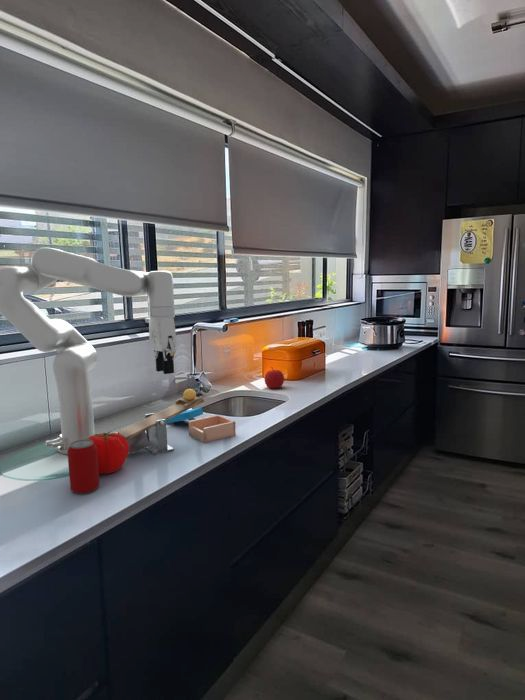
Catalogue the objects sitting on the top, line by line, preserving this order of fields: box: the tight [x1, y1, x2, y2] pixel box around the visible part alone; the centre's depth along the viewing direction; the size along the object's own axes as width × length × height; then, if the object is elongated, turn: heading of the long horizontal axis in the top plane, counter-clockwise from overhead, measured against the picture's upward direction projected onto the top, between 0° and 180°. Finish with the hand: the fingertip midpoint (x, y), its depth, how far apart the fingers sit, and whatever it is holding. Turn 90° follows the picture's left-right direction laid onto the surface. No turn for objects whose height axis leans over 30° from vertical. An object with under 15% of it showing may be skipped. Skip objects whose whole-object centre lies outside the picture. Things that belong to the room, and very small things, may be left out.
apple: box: [264, 367, 285, 389], centre depth 221 cm, size 9×9×10 cm
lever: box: [116, 395, 205, 455], centre depth 146 cm, size 26×7×7 cm, turn 126°
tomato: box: [88, 430, 129, 475], centre depth 128 cm, size 13×12×11 cm
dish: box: [188, 414, 237, 443], centre depth 156 cm, size 12×11×4 cm
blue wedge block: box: [166, 407, 204, 424], centre depth 168 cm, size 7×7×18 cm
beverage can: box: [67, 439, 100, 495], centre depth 116 cm, size 7×7×12 cm
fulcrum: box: [144, 412, 175, 456], centre depth 145 cm, size 6×11×10 cm, turn 36°
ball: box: [182, 388, 197, 401], centre depth 150 cm, size 4×4×4 cm
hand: (165, 371), depth 144 cm, fingers open, 4 cm apart
